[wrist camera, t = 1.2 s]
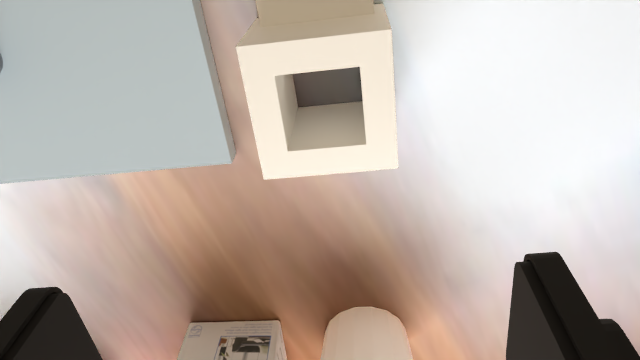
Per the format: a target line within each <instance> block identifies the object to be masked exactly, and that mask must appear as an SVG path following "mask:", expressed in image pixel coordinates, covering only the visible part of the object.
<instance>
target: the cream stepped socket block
mask: <svg viewBox="0 0 640 360" xmlns="http://www.w3.org/2000/svg"><path fill="white" fill-rule="evenodd" d="M255 1H256V6H257V12H258V17H259V18H256V20H255V21H254V22H253V24H252V25H251V27H250V28H249V29H248V31H247V32H246V33H245V35H244V36H243V38H242V39H241V40H240V42H239V43H238V45H237V46H236V51H237V55H238V60H239V65H240V70H241V74H242V79H243V84H244V88H245V93H246V98H247V103H248V107H249V112H250V117H251V121H252V126H253V131H254V136H255V140H256V145H257V150H258V154H259V159H260V164H261V169H262V173H263V178H264V180H266V179H278V178H290V177H302V176H314V175H326V174H338V173H350V172H362V171H374V170H385V169H397V168H398V150H397V129H396V109H395V88H394V68H393V47H392V29H391V26H390V23H389V20H388V17H387V14H386V10H385V7H384V4H383V3H380V4H374V1H373V0H255ZM353 67H360V75H361V87H362V99H363V101H359V102H349V103H339V104H329V105H319V106H308V107H298V105H297V99H296V93H295V86H294V80H293V74H296V73H306V72H315V71H325V70H334V69H343V68H353Z"/></svg>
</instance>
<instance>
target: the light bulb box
mask: <svg viewBox="0 0 640 360" xmlns="http://www.w3.org/2000/svg"><path fill="white" fill-rule="evenodd" d="M177 360H287V356H286V350H285V345H284V340H283V335H282V329H281V324H280V321H278V320H272V321H234V322H196V323H190V324H189V326H188V329H187V332H186V335H185V337H184V340H183V343H182V346H181V349H180V352H179V355H178V358H177Z"/></svg>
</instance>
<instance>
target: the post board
mask: <svg viewBox="0 0 640 360" xmlns="http://www.w3.org/2000/svg"><path fill="white" fill-rule="evenodd" d="M235 155H236V150H235V146H234V141H233V137H232V133H231V129H230V125H229V120H228V116H227V112H226V108H225V103H224V99H223V95H222V91H221V87H220V82H219V78H218V74H217V70H216V66H215V61H214V57H213V53H212V49H211V45H210V40H209V36H208V32H207V28H206V24H205V19H204V15H203V11H202V7H201V2H200V0H0V184H3V183H14V182H26V181H37V180H48V179H60V178H71V177H82V176H94V175H105V174H117V173H128V172H139V171H151V170H162V169H173V168H185V167H196V166H207V165H219V164H230V163H232V162H233V159H234V157H235Z"/></svg>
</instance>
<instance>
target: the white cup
mask: <svg viewBox="0 0 640 360" xmlns="http://www.w3.org/2000/svg"><path fill="white" fill-rule="evenodd" d="M320 360H413V357H412V353H411V349H410V345H409V341H408V337H407V333H406V329H405V327H404V326H403V324H402V323H401V321H400V319H399V318H398V317H396V316H395V315H393V314H392V313H390V312H389V311H387V310H384V309H380V308H376V307H372V306H368V307H353V308H351V309H348V310H345V311H342V312H340V313H339V314H337V315H336V316H335V317H334V318H333V319H331V320H330V321H329V324H328V326H327V329H326V331H325V336H324V342H323V348H322V354H321V359H320Z"/></svg>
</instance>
